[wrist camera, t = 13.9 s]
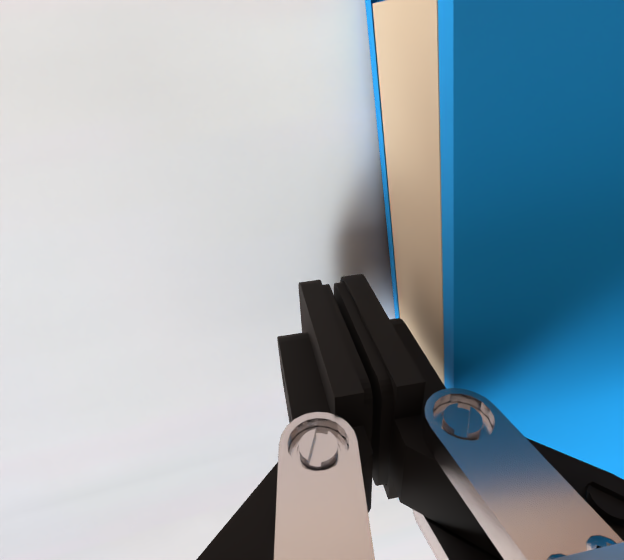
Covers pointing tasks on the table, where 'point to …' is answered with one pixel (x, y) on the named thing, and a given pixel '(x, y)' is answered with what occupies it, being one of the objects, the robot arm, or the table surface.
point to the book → (510, 204)
